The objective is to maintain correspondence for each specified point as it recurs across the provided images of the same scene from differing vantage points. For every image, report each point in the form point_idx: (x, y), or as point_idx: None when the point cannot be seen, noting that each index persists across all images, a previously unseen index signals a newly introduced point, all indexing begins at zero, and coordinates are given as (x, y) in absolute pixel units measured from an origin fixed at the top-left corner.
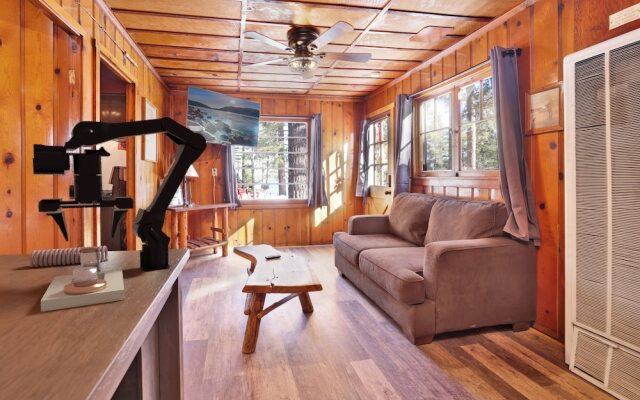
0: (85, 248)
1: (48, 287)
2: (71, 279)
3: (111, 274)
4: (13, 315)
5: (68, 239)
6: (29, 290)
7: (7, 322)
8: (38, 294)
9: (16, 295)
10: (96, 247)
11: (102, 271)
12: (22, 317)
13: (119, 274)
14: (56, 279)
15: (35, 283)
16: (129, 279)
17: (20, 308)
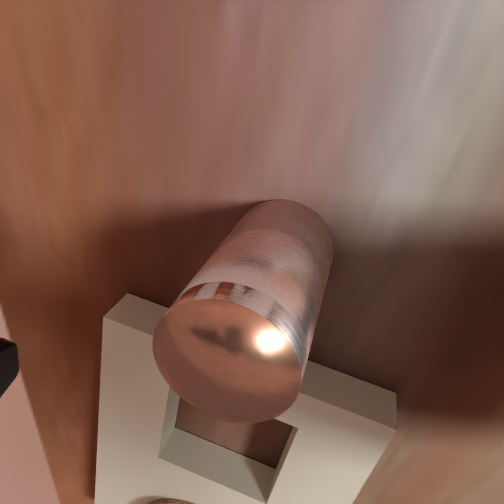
0: (188, 359)
1: (97, 444)
2: (162, 413)
3: (314, 468)
4: (62, 474)
5: (7, 356)
6: (51, 288)
7: (61, 499)
8: (87, 361)
9: (27, 319)
10: (270, 385)
11: (299, 394)
12: (81, 497)
13: (341, 494)
14: (112, 368)
15: (51, 186)
16: (406, 441)
17: (65, 443)
